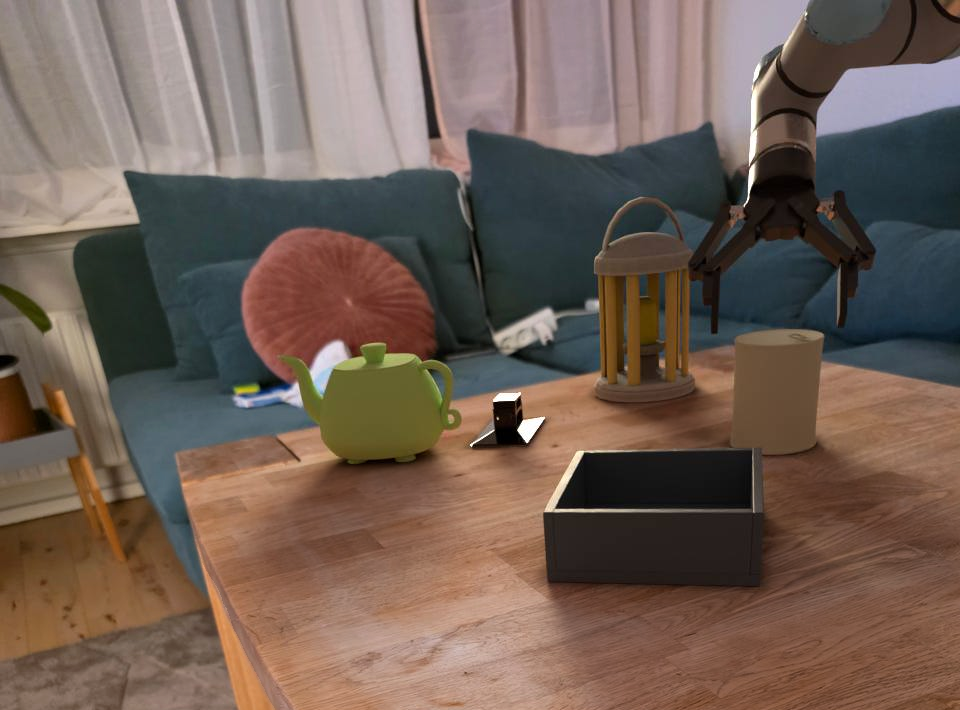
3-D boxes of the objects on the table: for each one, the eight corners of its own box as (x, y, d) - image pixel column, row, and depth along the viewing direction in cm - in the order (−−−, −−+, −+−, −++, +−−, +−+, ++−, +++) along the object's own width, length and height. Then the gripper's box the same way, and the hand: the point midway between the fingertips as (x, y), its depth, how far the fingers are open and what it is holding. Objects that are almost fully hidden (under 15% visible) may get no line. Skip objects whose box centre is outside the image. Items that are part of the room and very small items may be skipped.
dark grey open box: (758, 510, 82) (761, 447, 79) (760, 586, 68) (764, 512, 65) (579, 510, 87) (577, 450, 84) (547, 581, 73) (542, 512, 70)
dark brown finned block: (527, 446, 108) (524, 408, 106) (469, 448, 110) (465, 411, 108) (545, 419, 119) (543, 383, 117) (492, 420, 121) (489, 386, 119)
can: (777, 460, 94) (784, 343, 89) (712, 445, 101) (715, 335, 96) (834, 441, 99) (844, 328, 93) (767, 427, 106) (774, 321, 100)
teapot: (275, 474, 108) (252, 363, 101) (317, 439, 120) (299, 339, 114) (451, 468, 103) (438, 351, 97) (476, 432, 116) (466, 327, 110)
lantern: (680, 375, 134) (682, 190, 123) (707, 395, 122) (712, 192, 110) (586, 385, 134) (580, 201, 123) (604, 406, 122) (598, 204, 110)
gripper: (890, 183, 105) (891, 338, 100) (675, 202, 112) (665, 348, 107) (902, 131, 98) (904, 295, 93) (673, 155, 105) (661, 309, 100)
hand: (776, 324), depth 100 cm, fingers open, 13 cm apart
